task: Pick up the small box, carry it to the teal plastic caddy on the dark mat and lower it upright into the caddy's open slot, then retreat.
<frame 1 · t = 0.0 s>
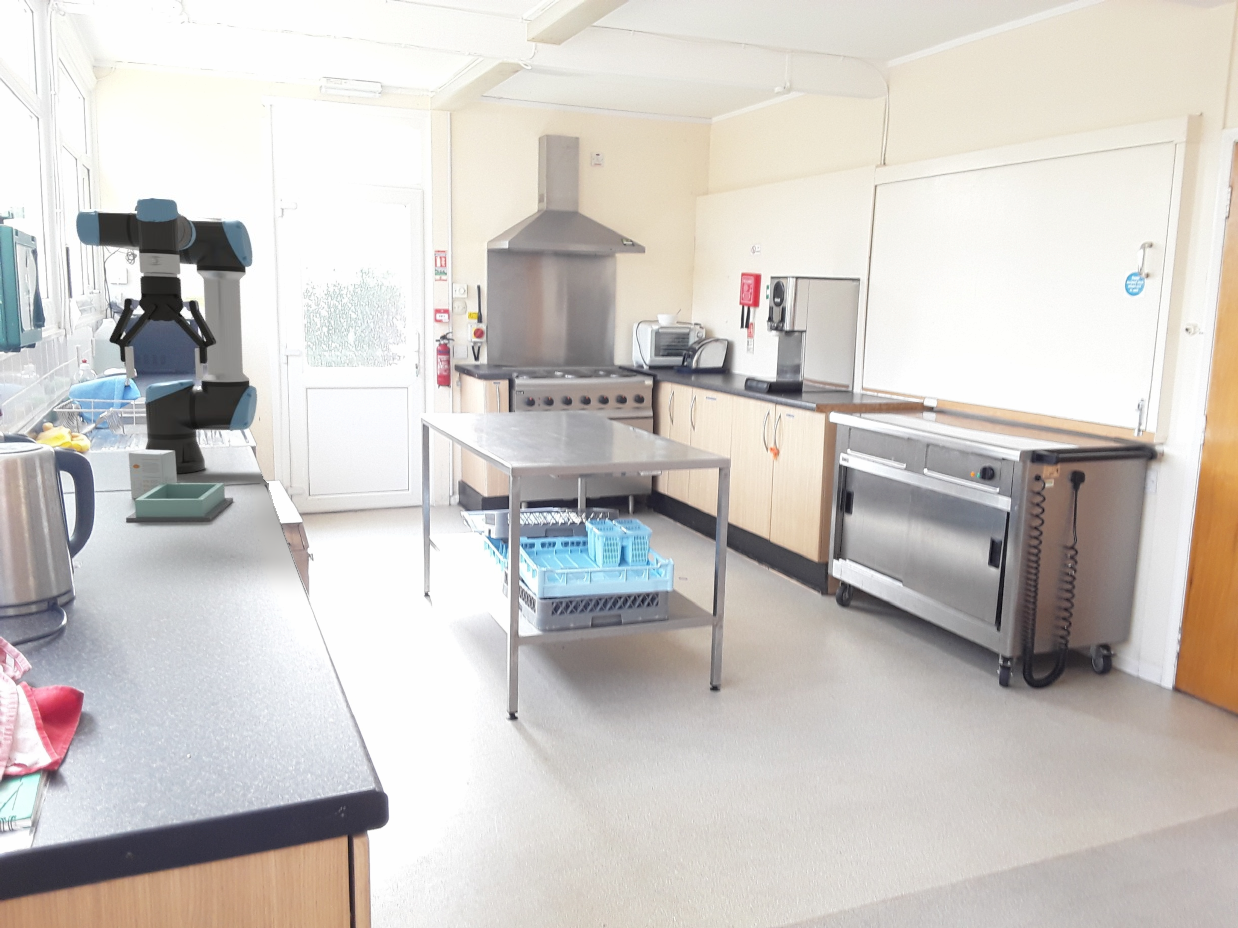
hand: (165, 378, 198), 28 cm above the counter, fingers open, 13 cm apart
small box: (154, 498, 214), on the counter
caddy: (182, 510, 201), on the counter
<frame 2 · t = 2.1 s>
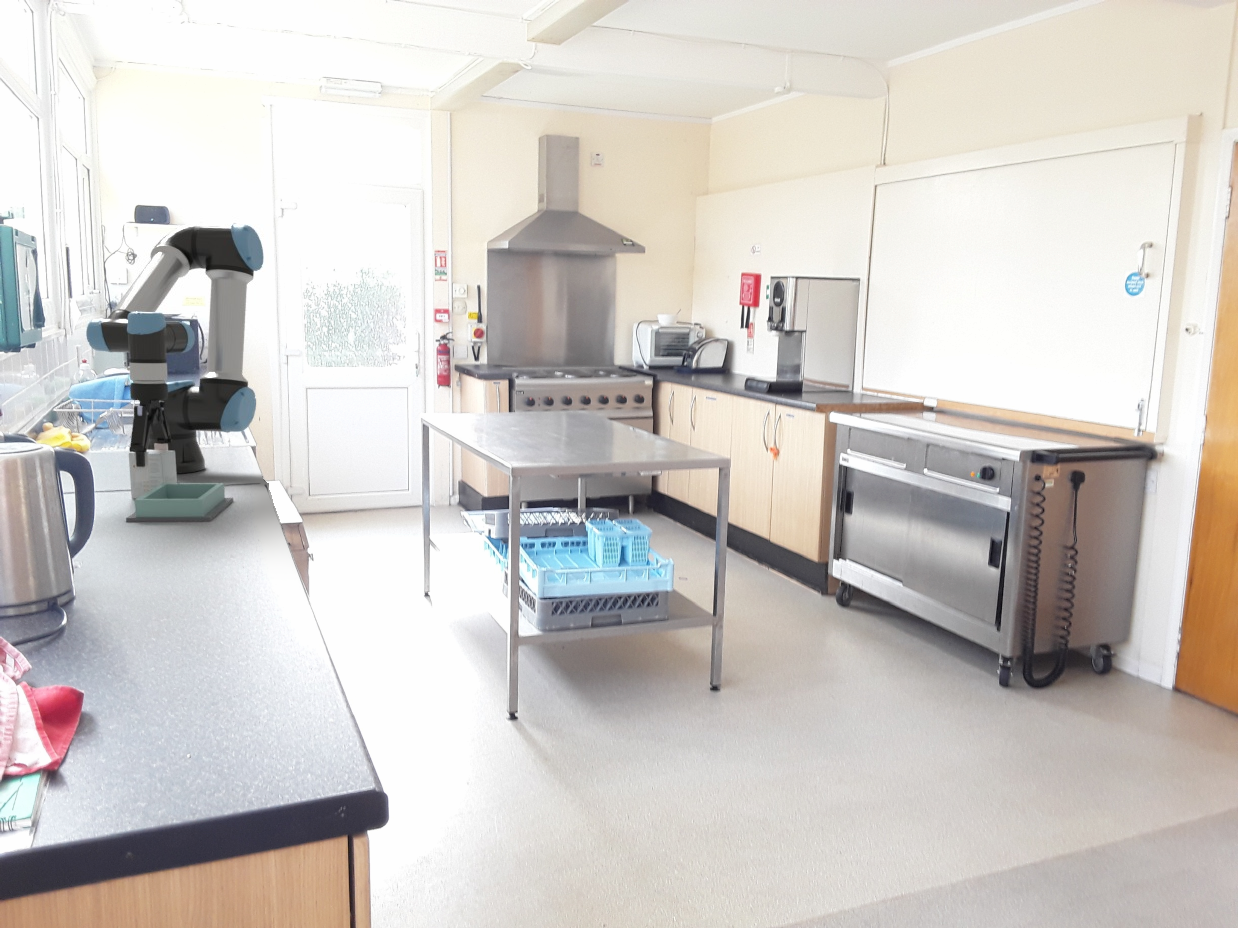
hand: (152, 476, 213), 5 cm above the counter, fingers open, 13 cm apart
nothing on the counter moved.
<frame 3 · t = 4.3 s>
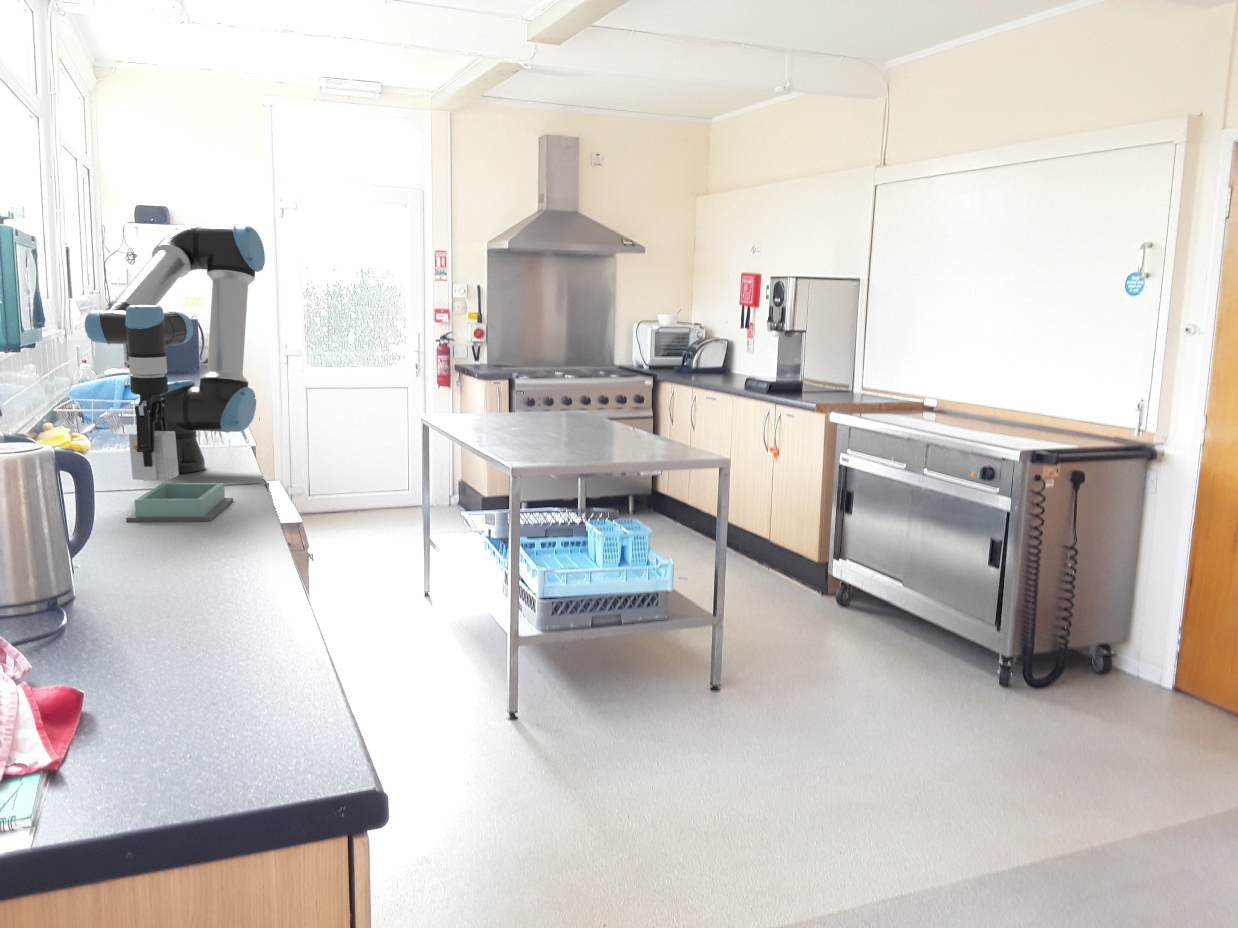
hand: (155, 476, 214), 5 cm above the counter, fingers closed on small box, 6 cm apart
small box: (155, 478, 215), point 4 cm above the counter, touching gripper
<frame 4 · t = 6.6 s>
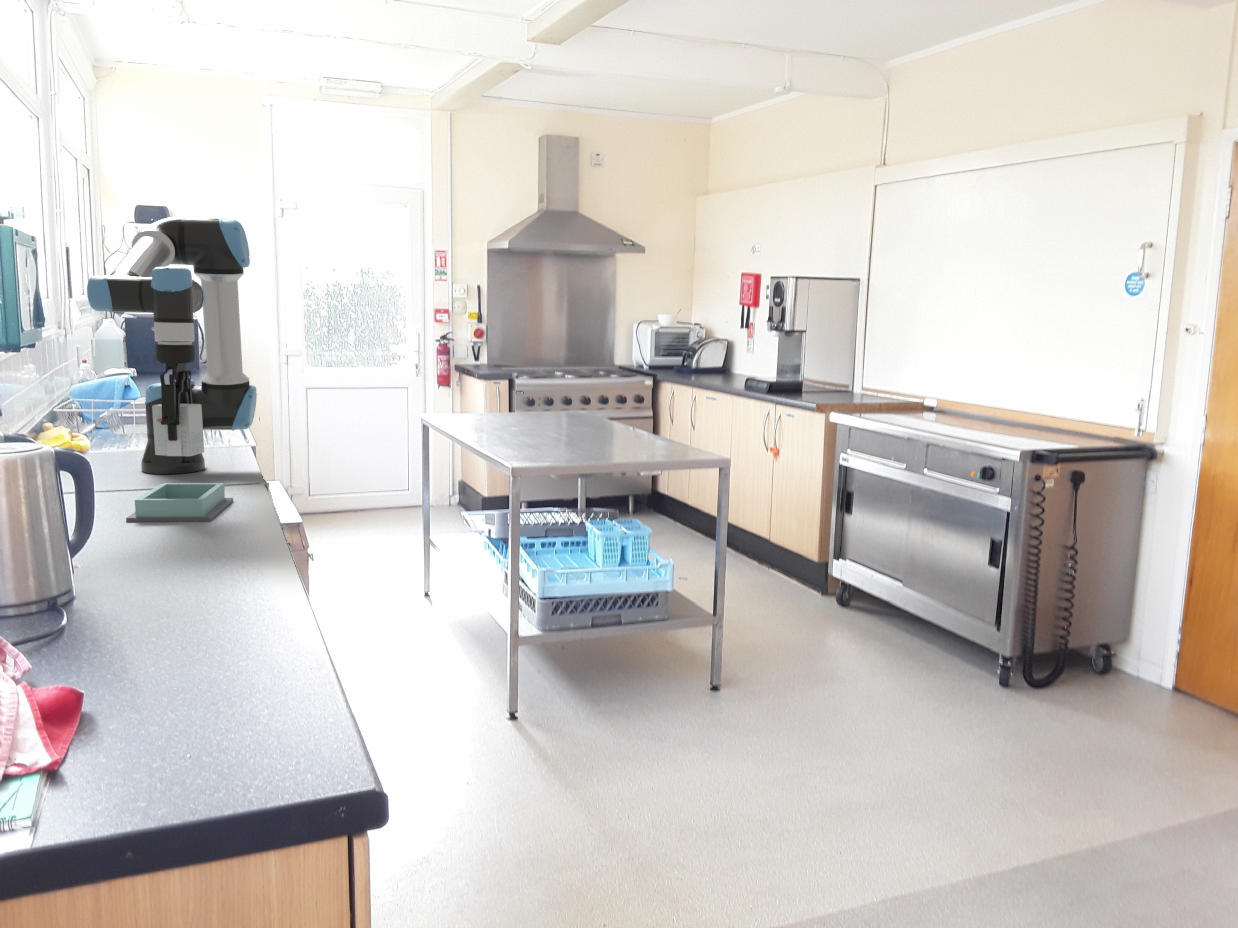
hand: (179, 453, 199), 13 cm above the counter, fingers closed on small box, 6 cm apart
small box: (179, 455, 199), point 12 cm above the counter, touching gripper
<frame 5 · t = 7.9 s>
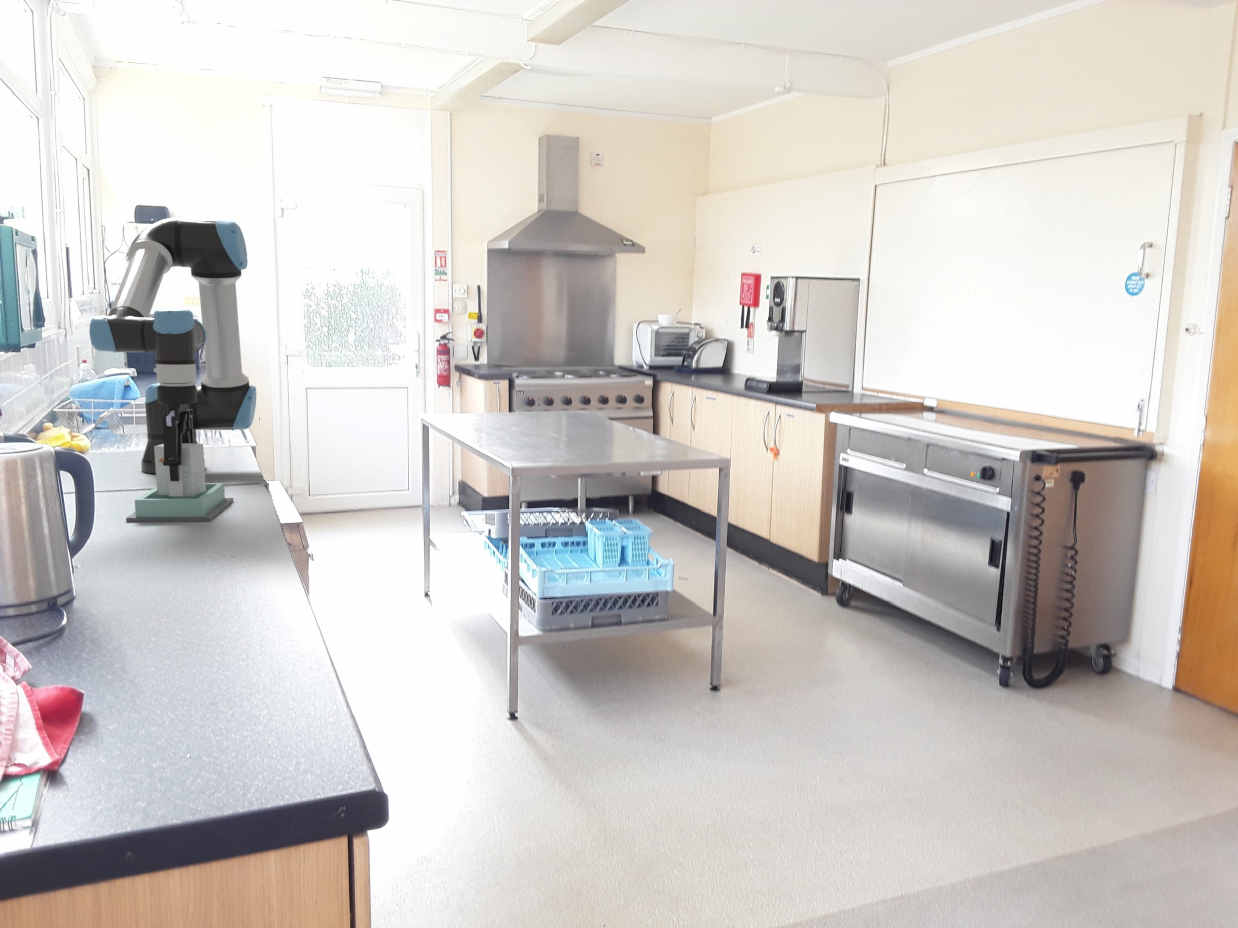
hand: (181, 492, 201), 4 cm above the counter, fingers closed on small box, 6 cm apart
small box: (181, 494, 201), point 4 cm above the counter, touching gripper
when the fingers open (3 cm above the counter, at t = 8.9 s): small box drops 2 cm, resting on caddy.
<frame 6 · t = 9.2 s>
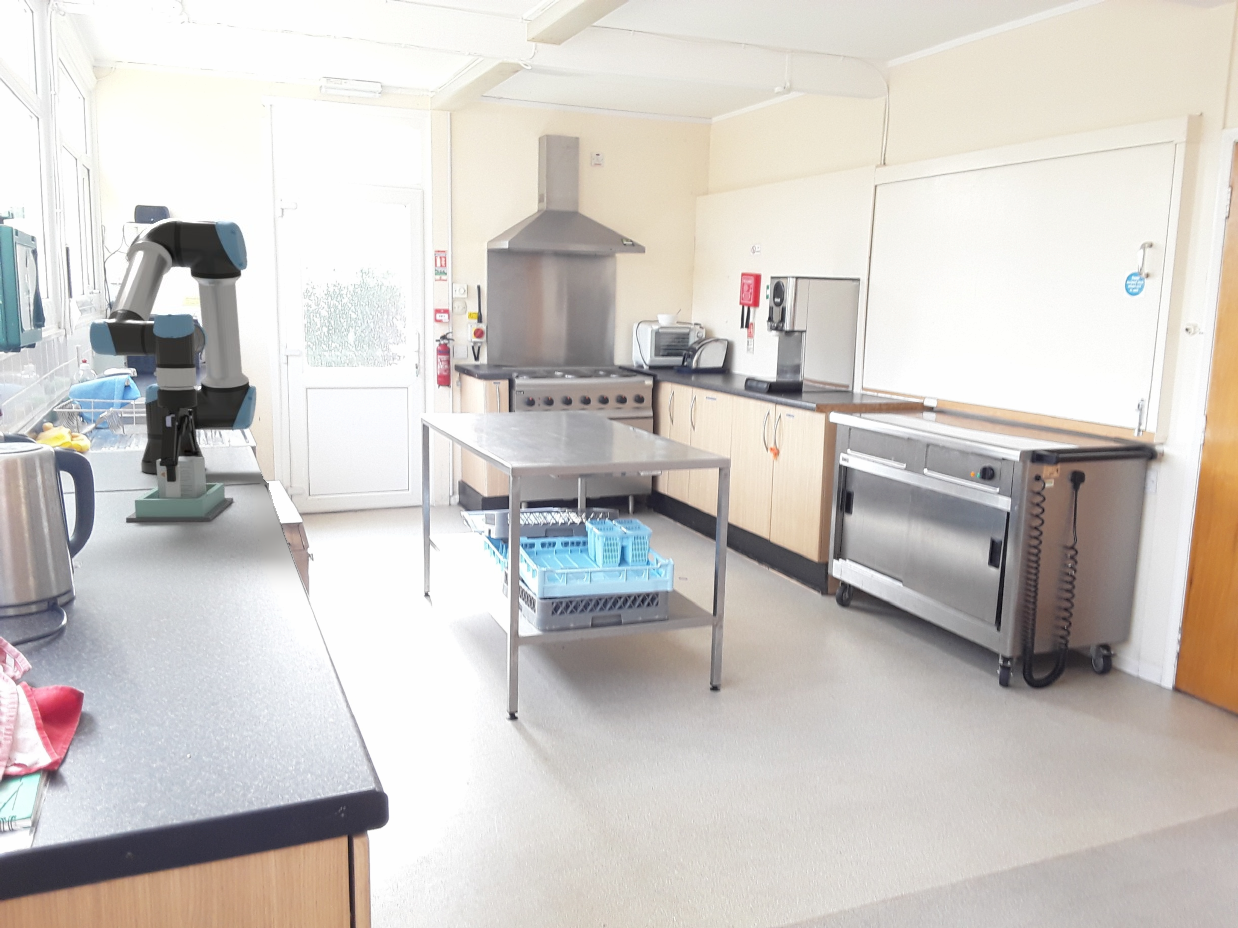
hand: (181, 491, 201), 4 cm above the counter, fingers open, 11 cm apart
small box: (183, 507, 202), point 1 cm above the counter, touching caddy
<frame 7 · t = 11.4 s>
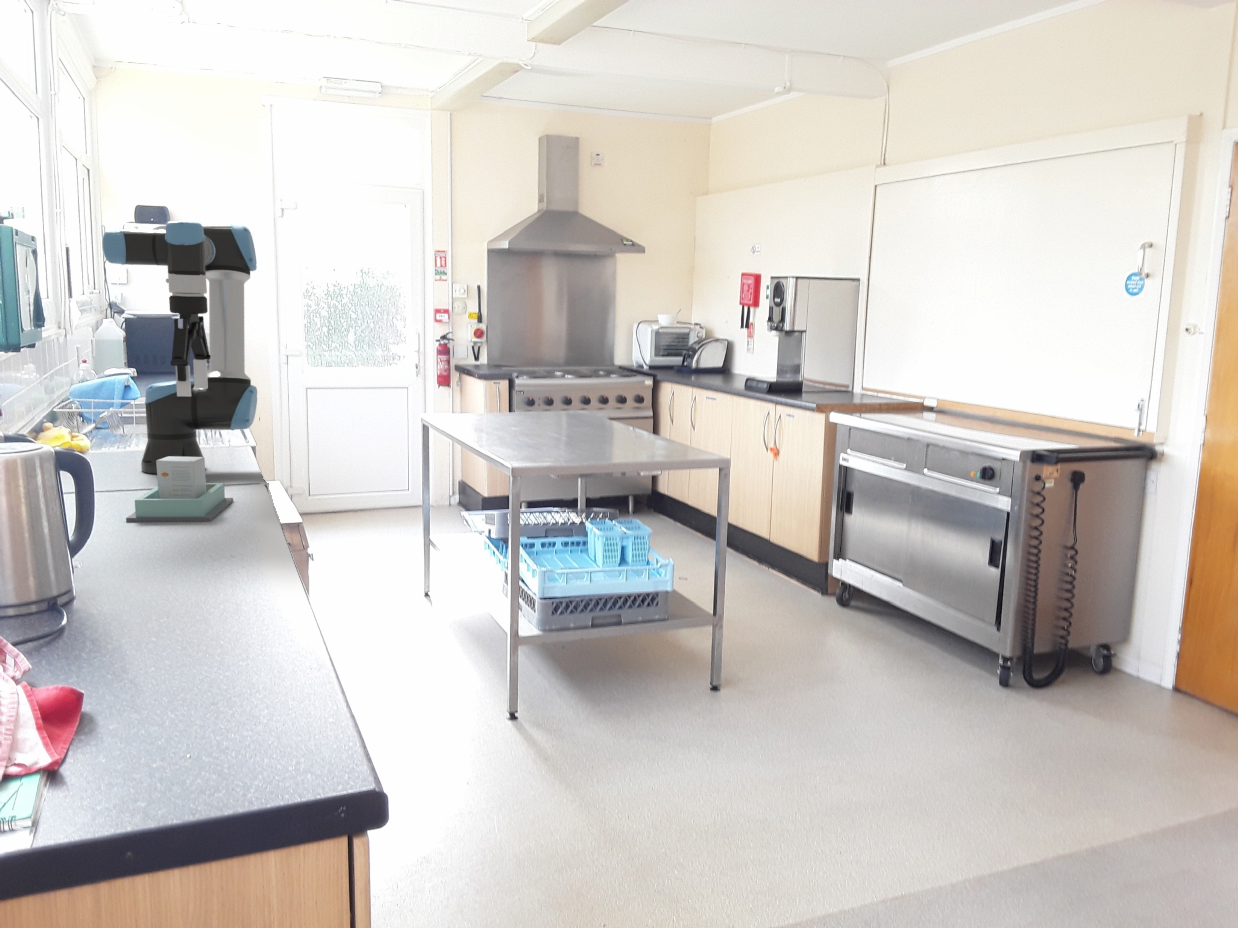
hand: (193, 392, 209), 24 cm above the counter, fingers open, 13 cm apart
nothing on the counter moved.
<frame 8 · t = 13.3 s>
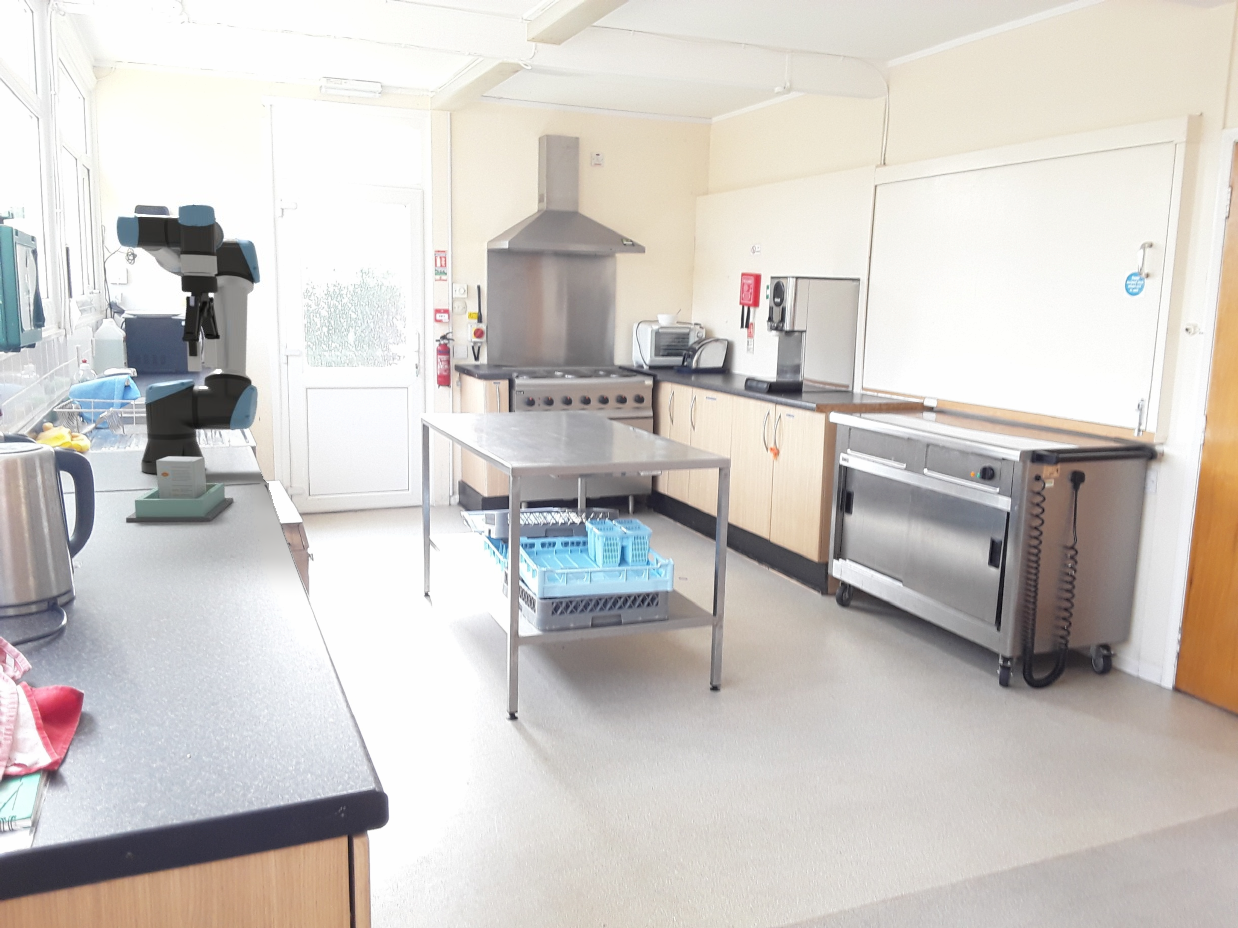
hand: (203, 369, 217), 29 cm above the counter, fingers open, 13 cm apart
nothing on the counter moved.
at the end: small box inside the target area on the caddy (0.5 cm from its centre), point 0.6 cm above the caddy's base; small box tilted 0°; the gripper is holding nothing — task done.
